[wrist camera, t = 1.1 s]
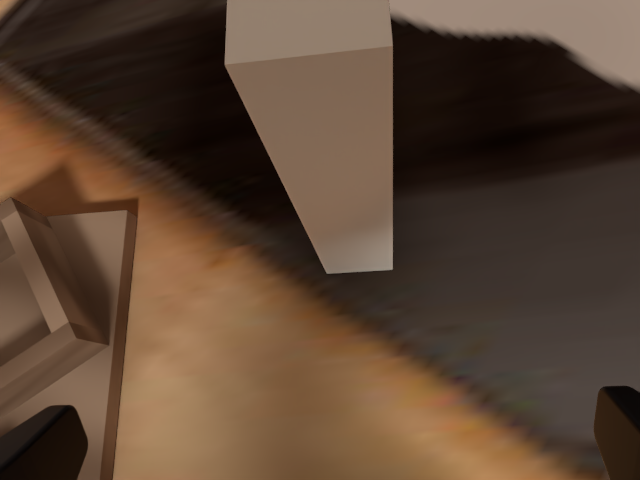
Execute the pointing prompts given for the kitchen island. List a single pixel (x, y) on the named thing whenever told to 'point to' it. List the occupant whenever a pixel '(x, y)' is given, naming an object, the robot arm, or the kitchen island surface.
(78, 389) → the double compartment tray
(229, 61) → the beige rectangular block
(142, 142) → the kitchen island surface
